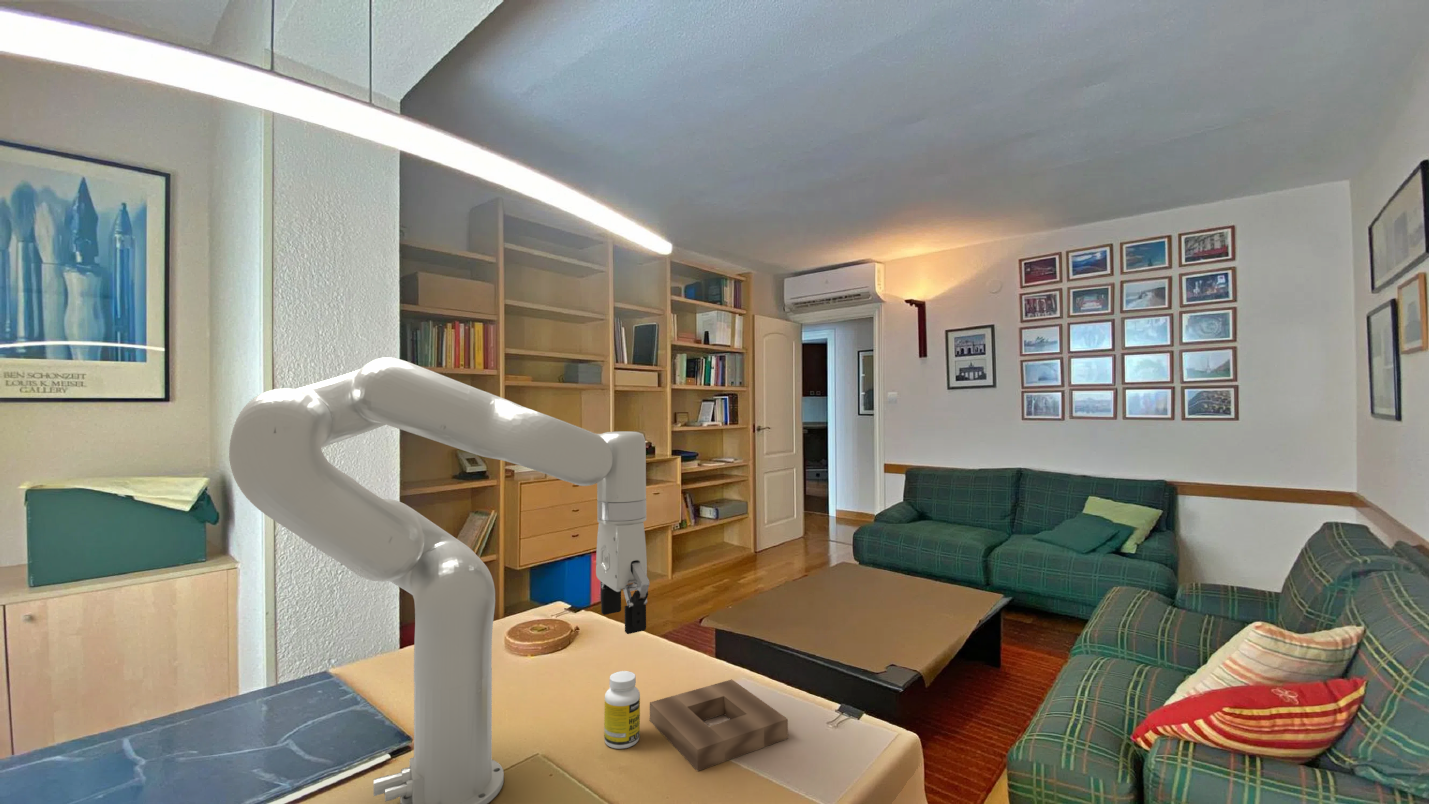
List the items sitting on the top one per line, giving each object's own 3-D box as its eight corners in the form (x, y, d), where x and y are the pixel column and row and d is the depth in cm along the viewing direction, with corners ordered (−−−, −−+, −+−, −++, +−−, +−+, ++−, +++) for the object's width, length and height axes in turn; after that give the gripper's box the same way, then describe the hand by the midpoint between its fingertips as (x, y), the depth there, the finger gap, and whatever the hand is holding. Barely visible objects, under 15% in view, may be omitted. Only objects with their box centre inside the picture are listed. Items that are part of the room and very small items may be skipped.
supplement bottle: (633, 751, 88) (633, 685, 88) (598, 748, 89) (598, 682, 90) (644, 732, 94) (644, 670, 94) (612, 729, 95) (612, 667, 95)
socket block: (697, 771, 83) (697, 749, 83) (649, 720, 97) (649, 702, 97) (787, 738, 92) (787, 718, 92) (732, 696, 105) (731, 679, 105)
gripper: (580, 505, 98) (581, 610, 97) (620, 522, 83) (621, 645, 83) (623, 501, 101) (624, 602, 101) (668, 516, 87) (669, 634, 86)
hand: (622, 621), depth 92 cm, fingers open, 9 cm apart
